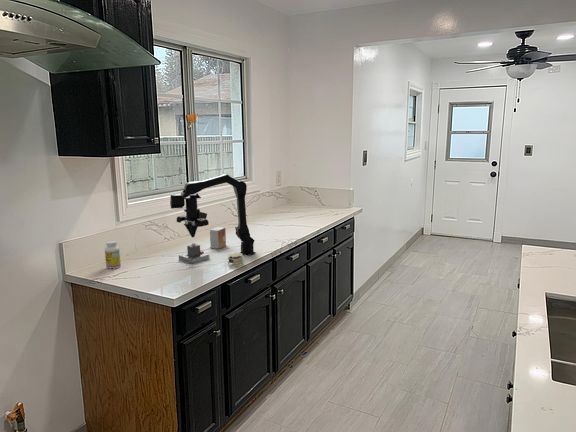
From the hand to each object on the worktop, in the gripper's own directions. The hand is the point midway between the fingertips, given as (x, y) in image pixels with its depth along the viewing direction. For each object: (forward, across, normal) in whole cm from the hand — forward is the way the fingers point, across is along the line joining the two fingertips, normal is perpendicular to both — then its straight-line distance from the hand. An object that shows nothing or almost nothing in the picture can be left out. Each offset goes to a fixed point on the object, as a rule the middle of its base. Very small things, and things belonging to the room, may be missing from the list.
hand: (193, 237), depth 224 cm
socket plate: (+12, 0, 0) cm, 12 cm away
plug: (+12, 0, 0) cm, 12 cm away
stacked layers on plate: (+12, -23, -7) cm, 27 cm away
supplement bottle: (+12, +22, +32) cm, 41 cm away
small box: (+12, +8, -25) cm, 29 cm away
